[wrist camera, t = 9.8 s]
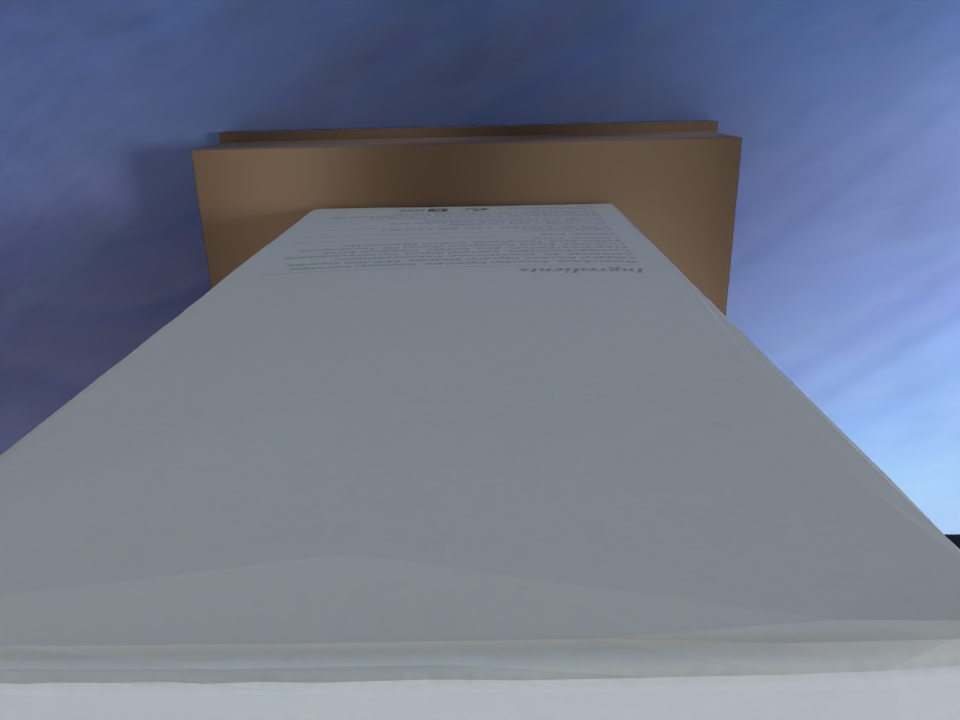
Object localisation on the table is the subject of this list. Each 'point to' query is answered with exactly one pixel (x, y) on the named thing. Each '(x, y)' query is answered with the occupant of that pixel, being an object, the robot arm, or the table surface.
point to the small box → (462, 501)
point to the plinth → (479, 181)
